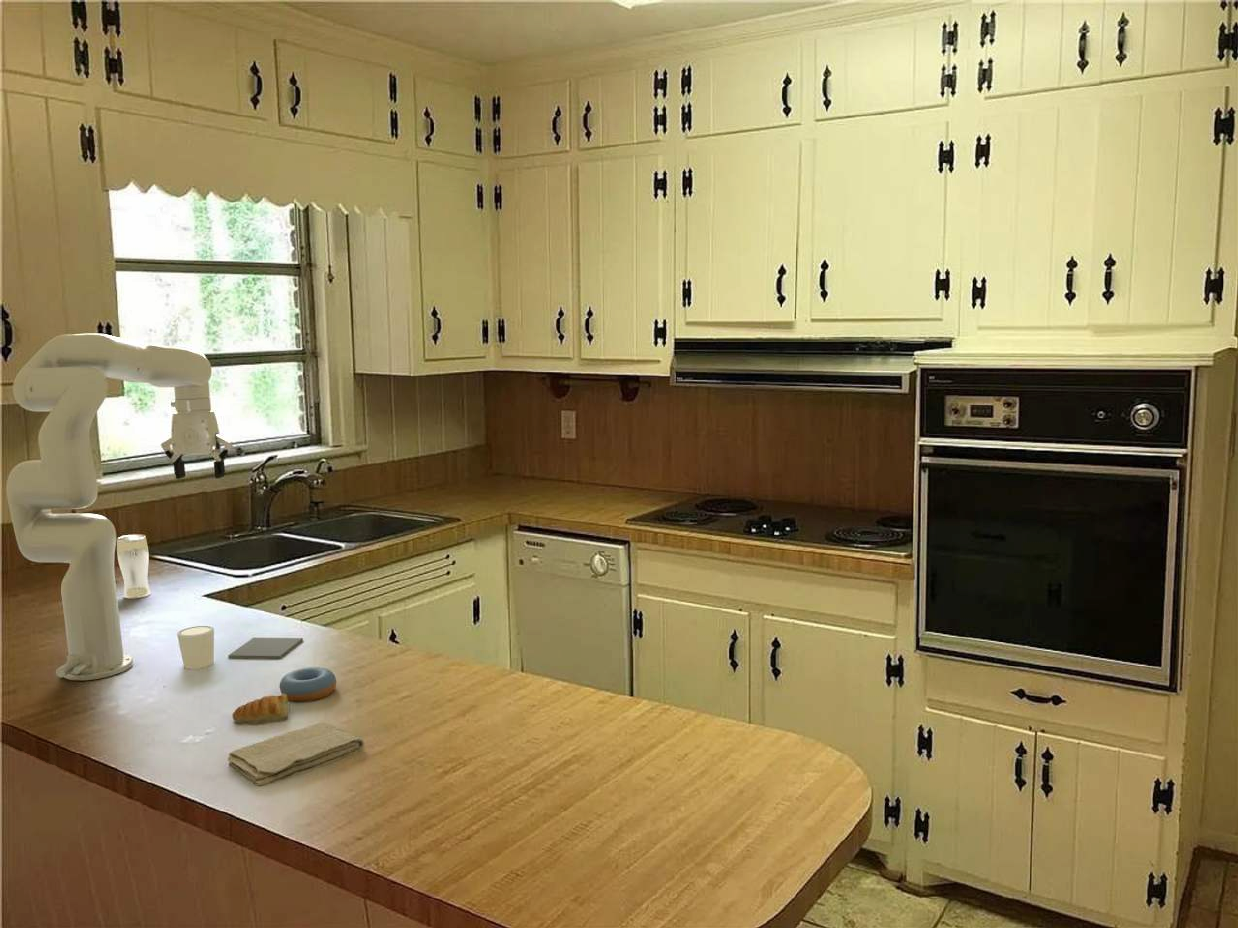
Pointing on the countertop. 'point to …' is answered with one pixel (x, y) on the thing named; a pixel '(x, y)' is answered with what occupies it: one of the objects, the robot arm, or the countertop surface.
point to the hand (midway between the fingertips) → (200, 477)
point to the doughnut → (308, 684)
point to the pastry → (263, 710)
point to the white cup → (197, 646)
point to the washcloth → (293, 753)
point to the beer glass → (134, 565)
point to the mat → (266, 648)
